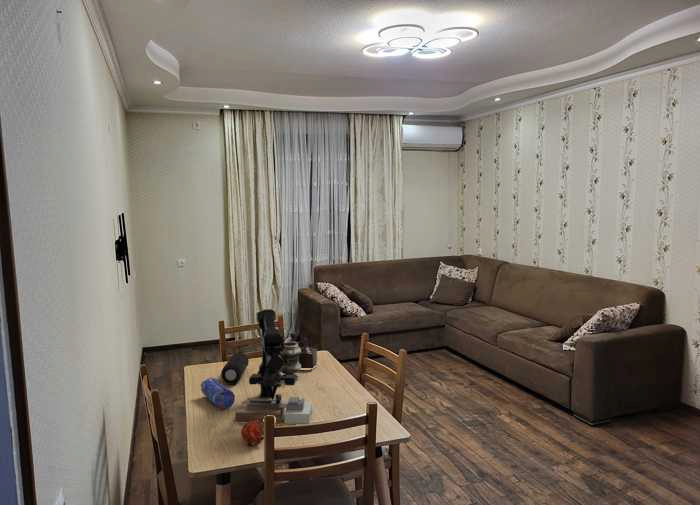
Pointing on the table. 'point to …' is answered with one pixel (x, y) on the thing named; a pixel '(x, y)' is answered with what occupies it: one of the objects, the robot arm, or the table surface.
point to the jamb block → (298, 411)
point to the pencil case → (217, 393)
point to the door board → (258, 411)
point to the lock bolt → (278, 401)
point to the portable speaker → (234, 368)
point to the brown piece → (306, 354)
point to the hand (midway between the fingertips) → (272, 399)
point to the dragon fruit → (253, 432)
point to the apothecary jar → (290, 359)
